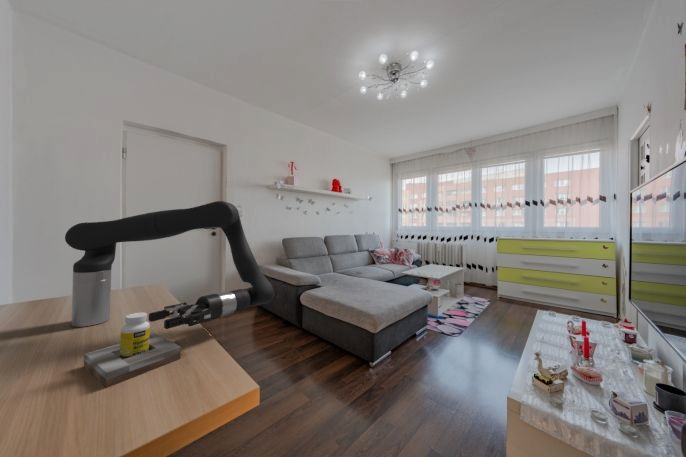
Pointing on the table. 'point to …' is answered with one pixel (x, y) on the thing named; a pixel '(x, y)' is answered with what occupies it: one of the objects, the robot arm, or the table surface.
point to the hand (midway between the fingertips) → (156, 321)
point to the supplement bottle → (134, 335)
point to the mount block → (130, 360)
